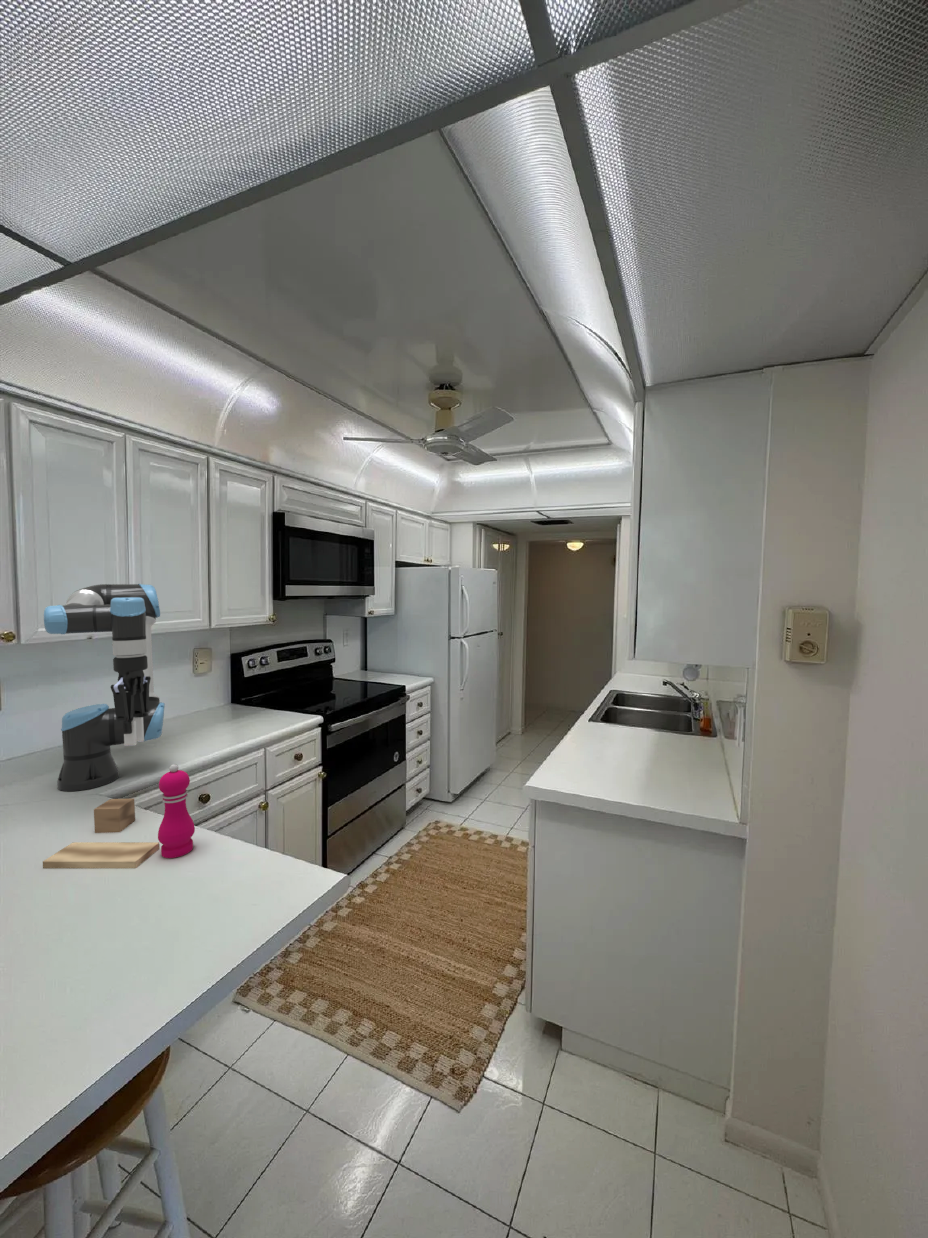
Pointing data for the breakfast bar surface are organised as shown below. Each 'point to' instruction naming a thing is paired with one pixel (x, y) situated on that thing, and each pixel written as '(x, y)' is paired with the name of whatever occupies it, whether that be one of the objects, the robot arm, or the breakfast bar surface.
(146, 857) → the oak board
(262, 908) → the breakfast bar surface
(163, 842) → the pepper mill
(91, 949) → the breakfast bar surface
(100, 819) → the walnut block
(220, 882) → the breakfast bar surface
